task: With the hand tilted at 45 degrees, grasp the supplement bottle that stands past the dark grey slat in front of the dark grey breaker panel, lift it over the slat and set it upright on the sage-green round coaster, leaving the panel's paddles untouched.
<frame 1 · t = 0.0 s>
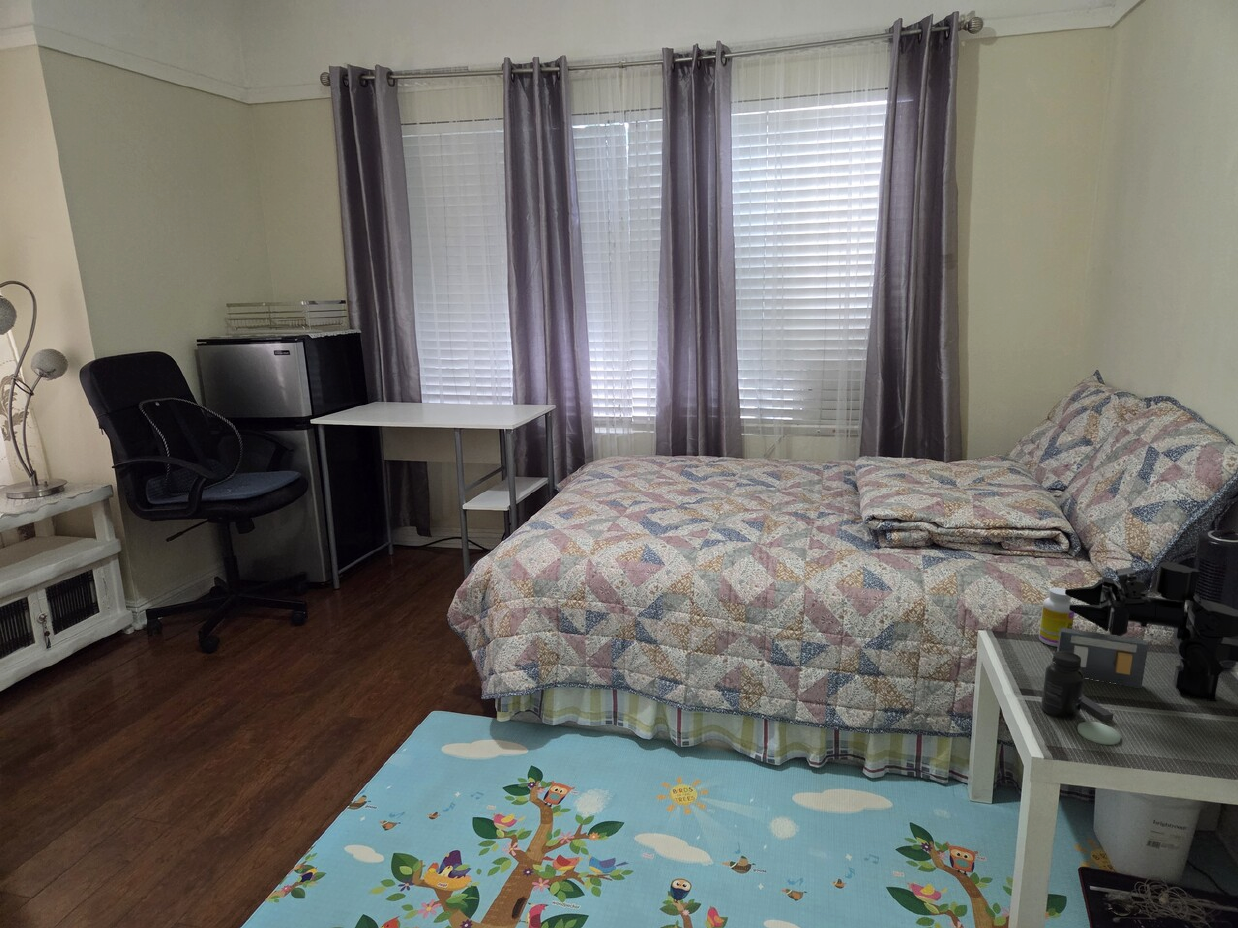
hand: (1067, 599, 174), 17 cm above the table, tool horizontal, fingers open, 9 cm apart
supplement bottle 2: (1053, 642, 191), on the table
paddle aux: (1080, 656, 172), point 6 cm above the table, hinge at 0.0°
supplement bottle: (1059, 712, 161), on the table
breaker panel: (1096, 678, 174), on the table
pad: (1098, 734, 153), on the table
paddle main: (1123, 663, 169), point 5 cm above the table, hinge at 0.0°
dark grey slat: (1079, 704, 164), on the table
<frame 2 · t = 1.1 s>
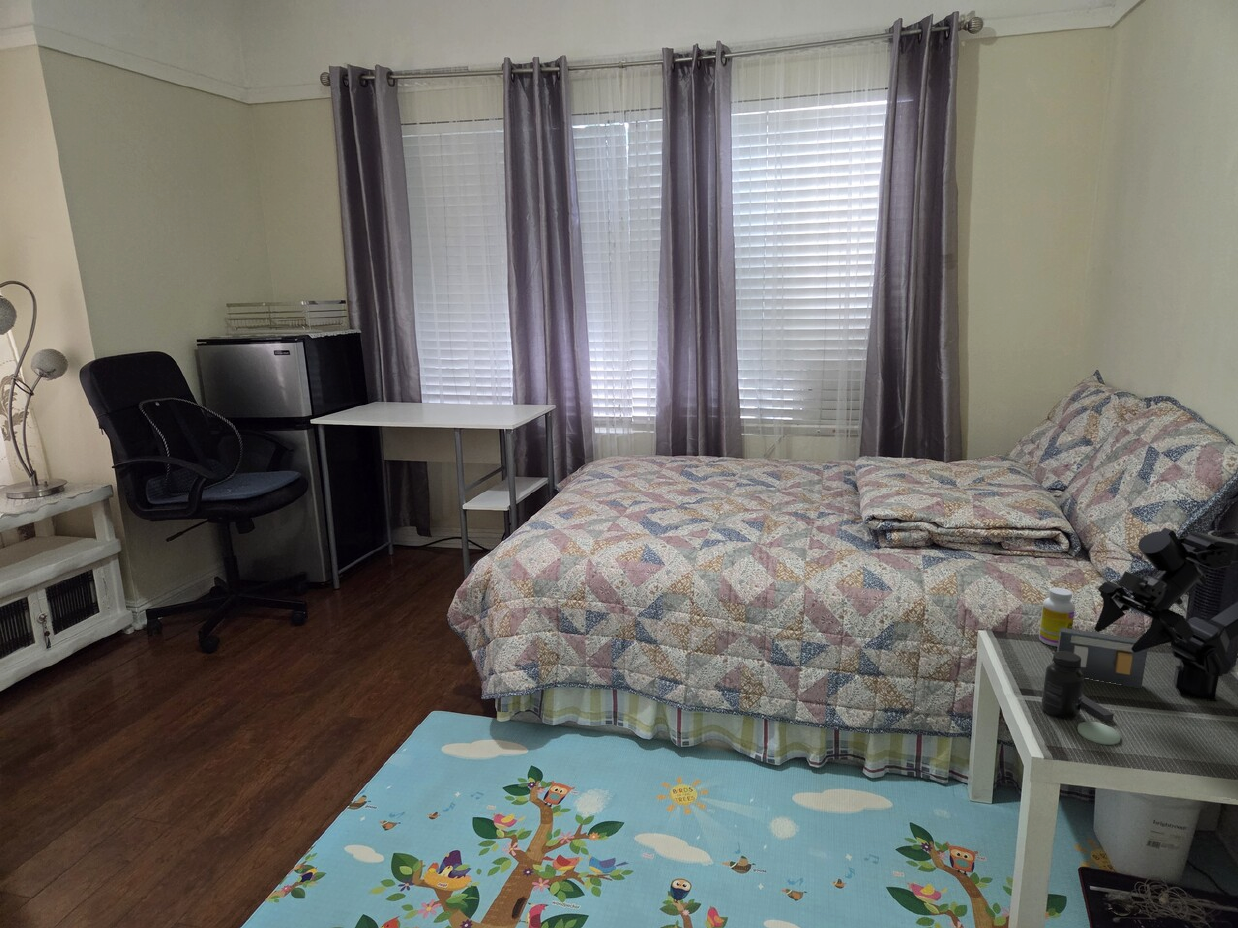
hand: (1114, 640, 161), 14 cm above the table, tool tilted 45°, fingers open, 9 cm apart
nothing on the table moved.
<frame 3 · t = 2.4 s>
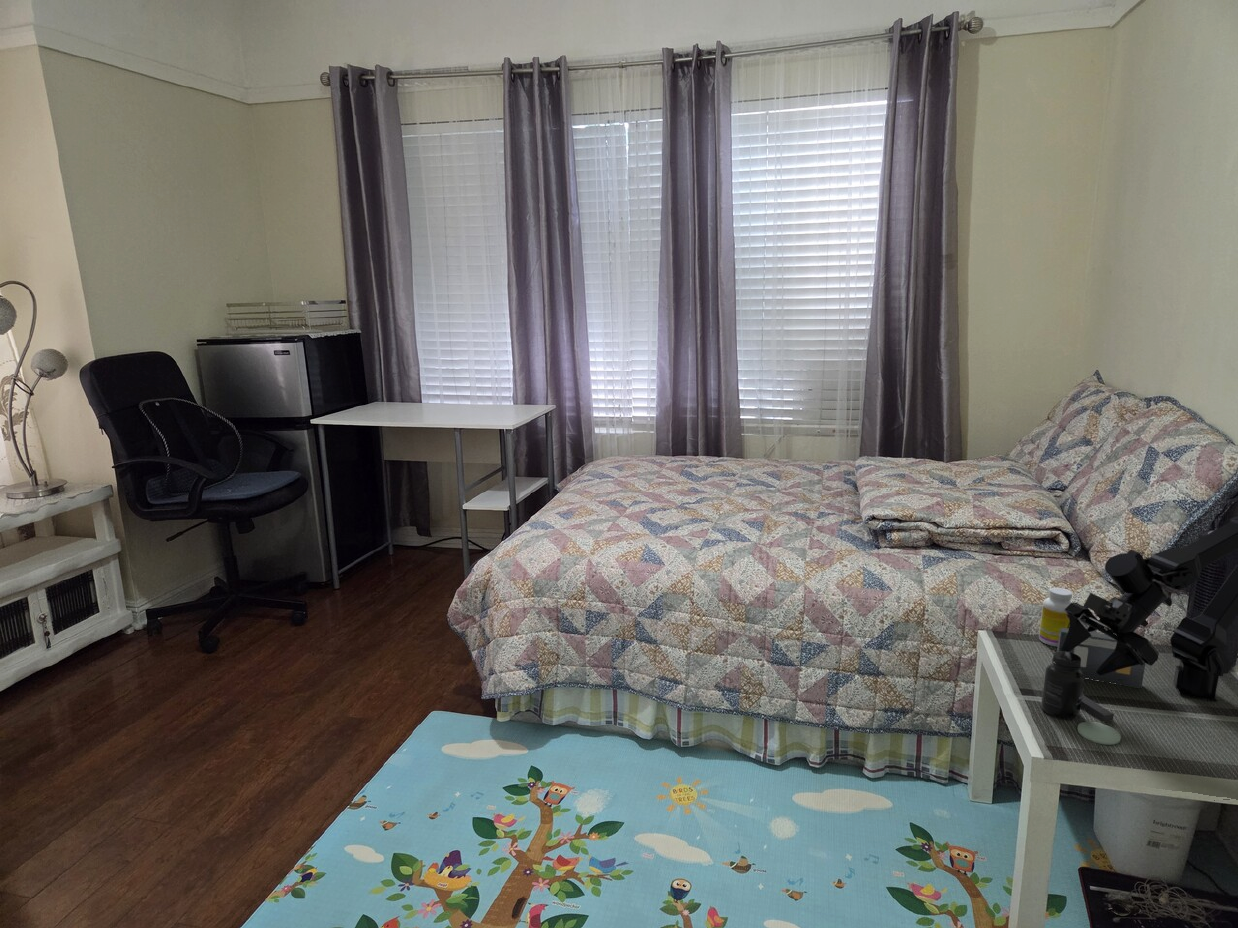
hand: (1079, 662, 159), 10 cm above the table, tool tilted 45°, fingers open, 9 cm apart
nothing on the table moved.
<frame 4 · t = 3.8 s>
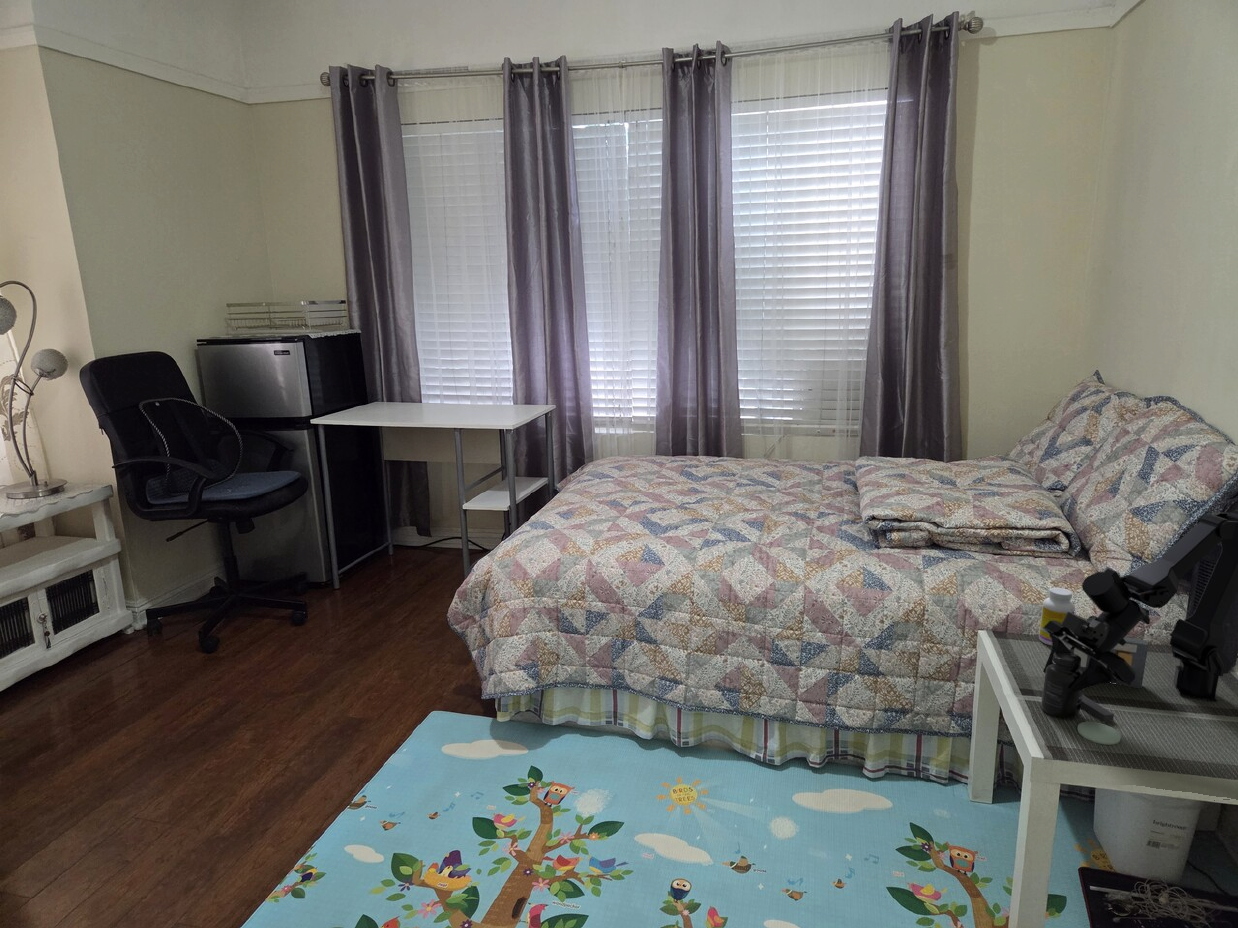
hand: (1057, 681, 159), 7 cm above the table, tool tilted 45°, fingers closed on supplement bottle, 7 cm apart
supplement bottle: (1059, 711, 161), on the table, touching gripper
everything else where it was.
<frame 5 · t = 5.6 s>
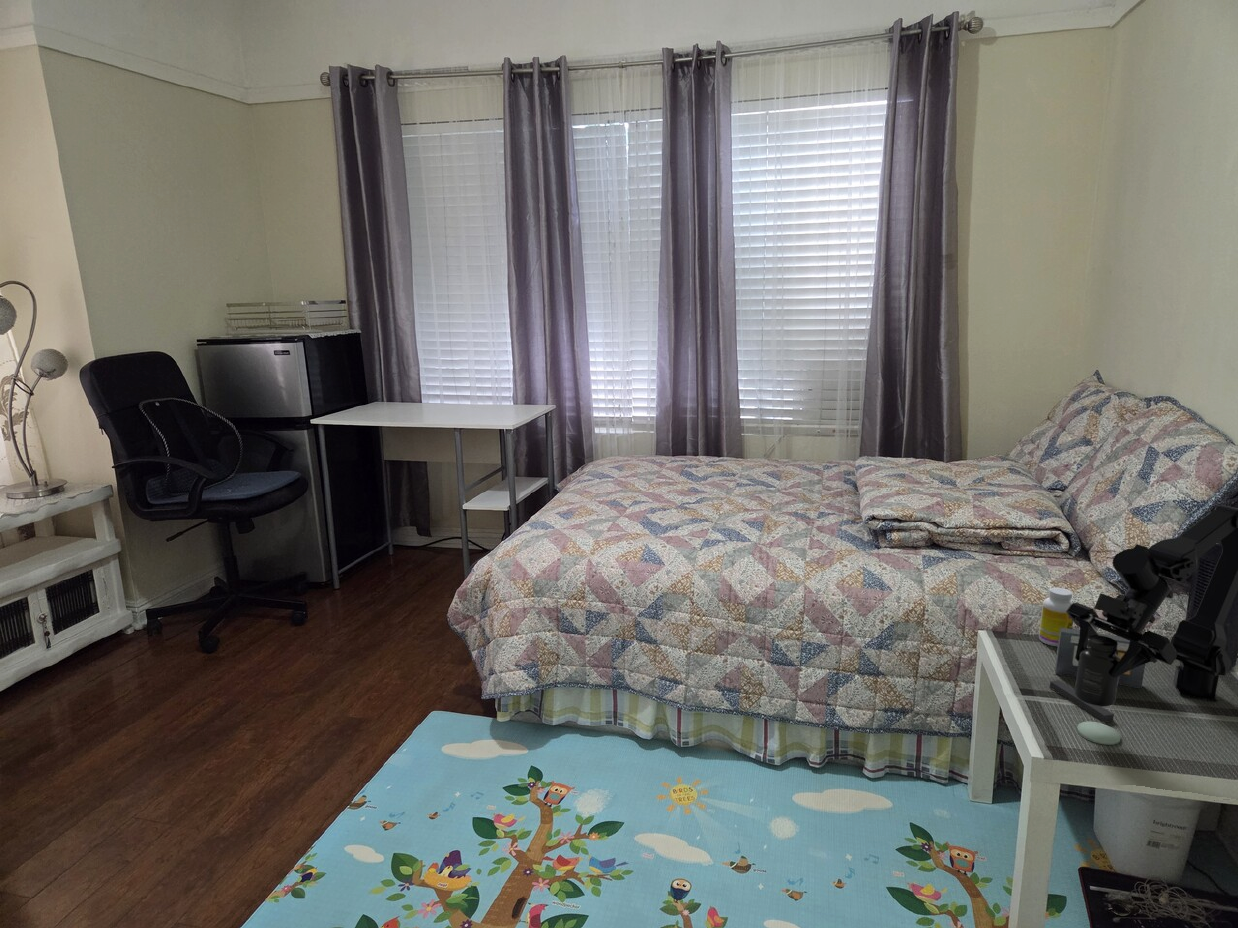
hand: (1094, 667, 151), 13 cm above the table, tool tilted 45°, fingers closed on supplement bottle, 7 cm apart
supplement bottle: (1094, 699, 153), point 6 cm above the table, touching gripper
everything else where it was.
when the fingers open (8 cm above the table, at t = 7.3 s): supplement bottle stays where it is, resting on pad.
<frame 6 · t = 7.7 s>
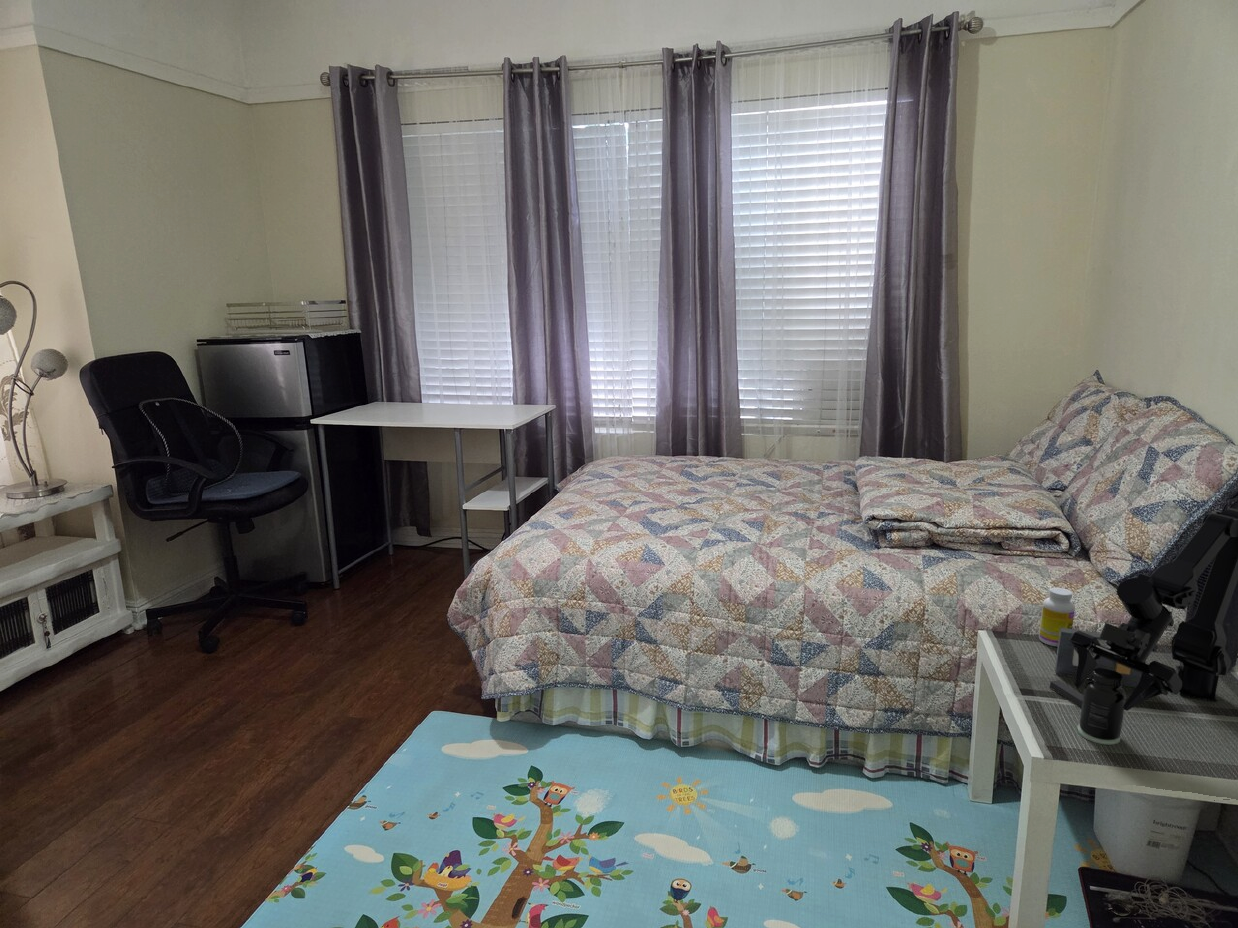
hand: (1099, 697, 150), 8 cm above the table, tool tilted 45°, fingers open, 9 cm apart
supplement bottle: (1099, 732, 153), resting on pad
everything else where it was.
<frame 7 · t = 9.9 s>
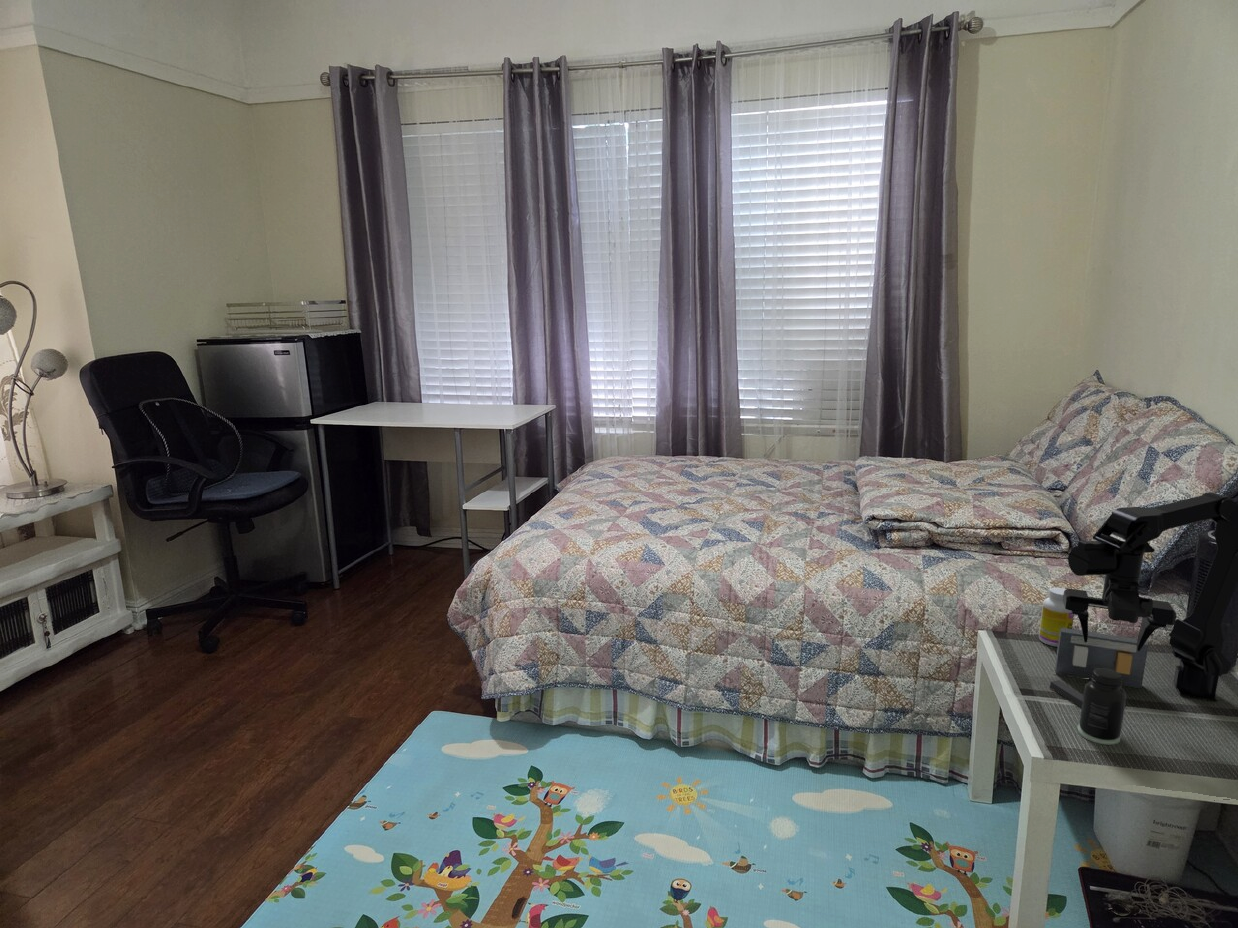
hand: (1111, 645, 162), 12 cm above the table, tool pointing down, fingers open, 9 cm apart
nothing on the table moved.
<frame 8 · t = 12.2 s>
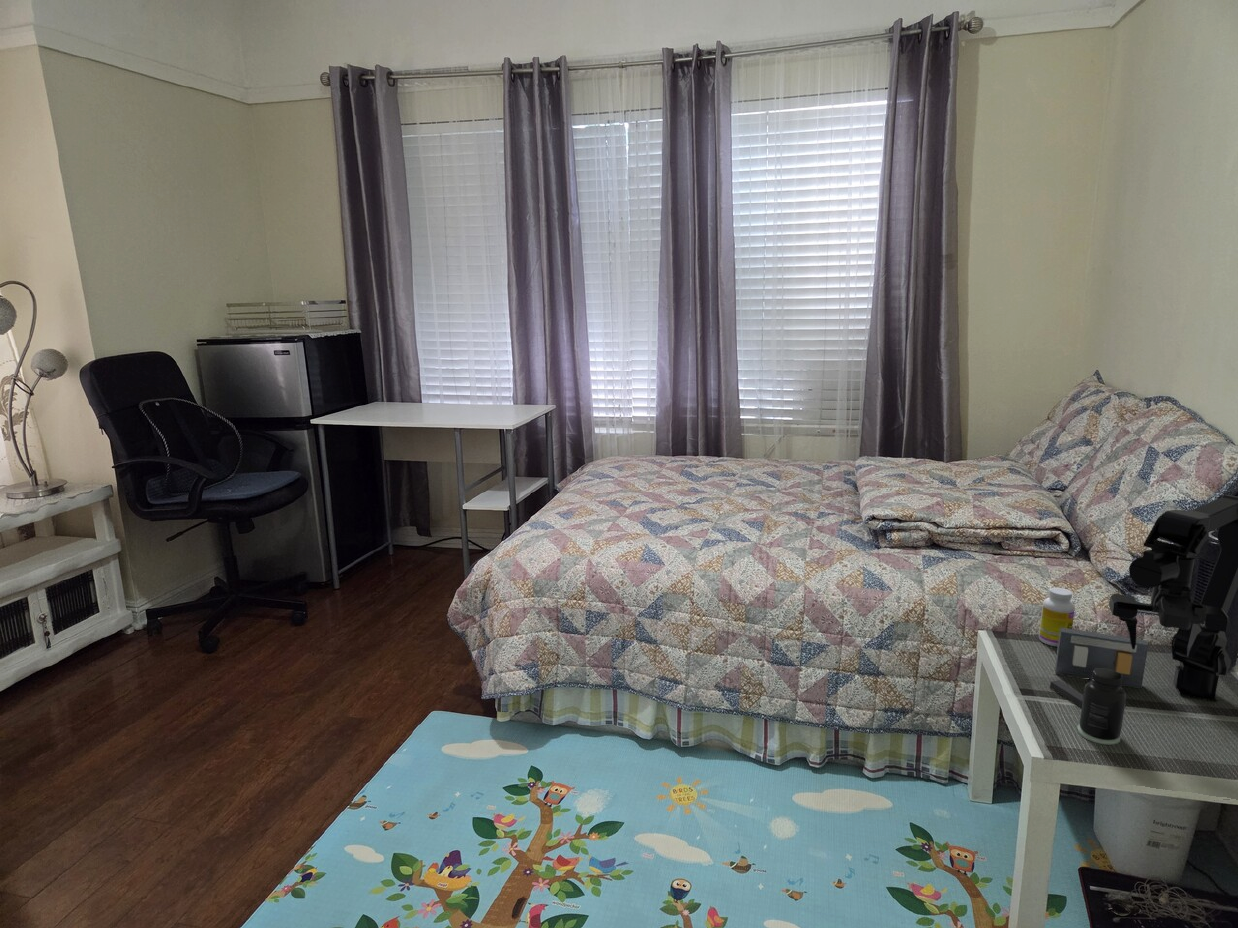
hand: (1160, 652, 157), 13 cm above the table, tool pointing down, fingers open, 9 cm apart
nothing on the table moved.
at the end: supplement bottle 0.1 cm from the pad (horizontally); supplement bottle tilted 0°; paddle main at +0° (first picture: +0°) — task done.
